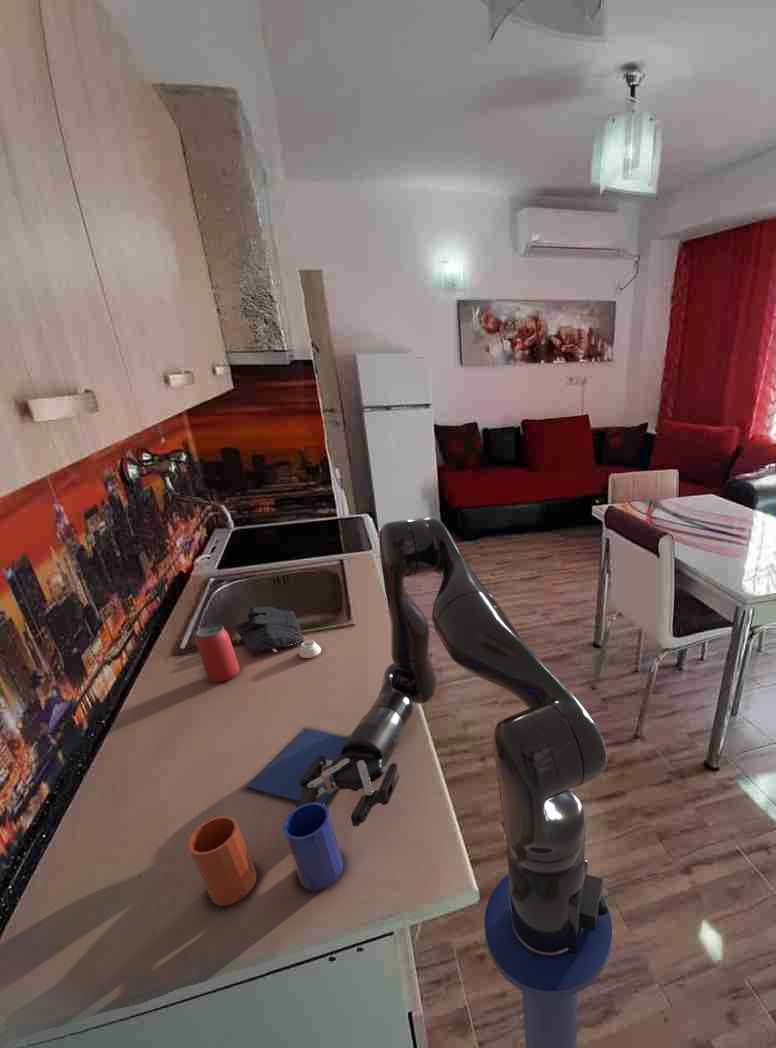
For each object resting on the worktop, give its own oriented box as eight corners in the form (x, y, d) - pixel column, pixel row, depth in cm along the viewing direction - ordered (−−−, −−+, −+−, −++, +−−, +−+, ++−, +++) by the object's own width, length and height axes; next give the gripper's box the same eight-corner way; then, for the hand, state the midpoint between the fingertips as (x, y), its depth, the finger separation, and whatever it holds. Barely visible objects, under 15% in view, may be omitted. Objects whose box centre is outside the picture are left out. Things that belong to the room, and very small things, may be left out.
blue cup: (351, 858, 73) (337, 808, 69) (326, 895, 68) (310, 844, 64) (317, 847, 75) (302, 798, 71) (291, 883, 70) (273, 832, 66)
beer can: (245, 673, 118) (230, 628, 113) (216, 687, 114) (200, 641, 109) (232, 663, 122) (218, 620, 117) (204, 677, 118) (188, 632, 113)
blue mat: (372, 744, 94) (371, 743, 94) (321, 808, 81) (320, 807, 81) (306, 729, 99) (305, 728, 99) (248, 787, 86) (247, 786, 86)
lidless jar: (323, 654, 124) (317, 646, 128) (321, 644, 123) (315, 635, 126) (303, 661, 121) (297, 653, 125) (300, 651, 120) (294, 642, 124)
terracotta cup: (265, 872, 72) (246, 821, 68) (233, 911, 67) (211, 860, 63) (234, 861, 74) (213, 811, 70) (200, 898, 69) (176, 847, 65)
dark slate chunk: (241, 663, 122) (236, 646, 120) (235, 626, 140) (231, 610, 138) (307, 644, 129) (303, 628, 127) (293, 611, 146) (290, 596, 144)
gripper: (332, 718, 87) (275, 793, 72) (411, 726, 84) (368, 805, 69) (340, 752, 90) (288, 830, 75) (416, 760, 87) (377, 843, 72)
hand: (326, 818), depth 72 cm, fingers open, 8 cm apart
